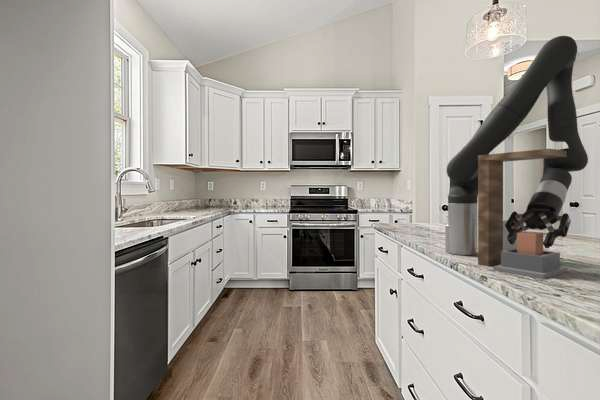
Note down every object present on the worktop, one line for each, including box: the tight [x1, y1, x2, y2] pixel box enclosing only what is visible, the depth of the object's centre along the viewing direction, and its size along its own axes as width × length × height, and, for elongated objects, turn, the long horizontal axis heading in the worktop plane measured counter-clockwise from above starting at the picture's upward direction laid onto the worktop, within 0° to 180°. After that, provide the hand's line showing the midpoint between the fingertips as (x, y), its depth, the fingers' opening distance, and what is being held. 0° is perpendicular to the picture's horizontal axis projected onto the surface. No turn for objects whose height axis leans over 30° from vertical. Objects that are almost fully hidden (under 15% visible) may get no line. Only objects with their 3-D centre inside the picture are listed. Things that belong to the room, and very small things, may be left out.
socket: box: [492, 248, 568, 280], centre depth 94 cm, size 12×14×5 cm
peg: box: [517, 231, 544, 256], centre depth 94 cm, size 4×4×9 cm
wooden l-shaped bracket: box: [477, 148, 567, 267], centre depth 97 cm, size 18×10×32 cm, turn 34°
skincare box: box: [503, 219, 521, 251], centre depth 113 cm, size 6×4×12 cm
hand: (527, 244), depth 94 cm, fingers open, 8 cm apart
